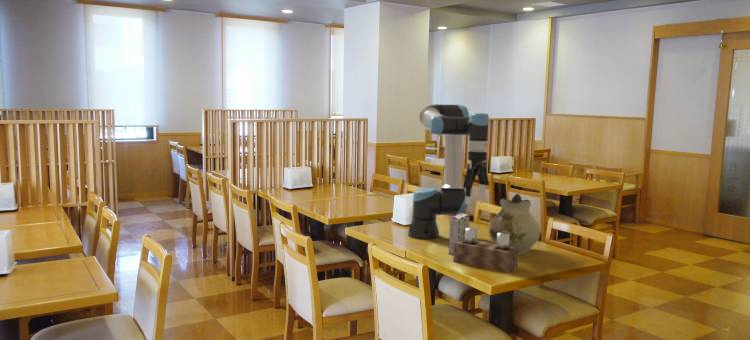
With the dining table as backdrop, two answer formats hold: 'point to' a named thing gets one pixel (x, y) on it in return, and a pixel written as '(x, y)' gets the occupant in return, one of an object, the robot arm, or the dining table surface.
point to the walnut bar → (486, 256)
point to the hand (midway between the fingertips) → (475, 202)
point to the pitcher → (516, 224)
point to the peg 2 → (502, 241)
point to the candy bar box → (457, 229)
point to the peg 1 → (470, 235)
